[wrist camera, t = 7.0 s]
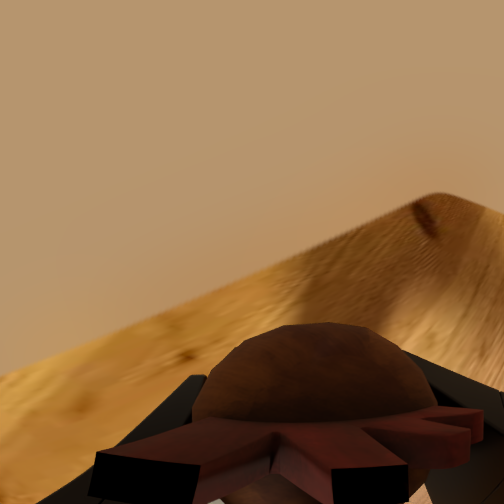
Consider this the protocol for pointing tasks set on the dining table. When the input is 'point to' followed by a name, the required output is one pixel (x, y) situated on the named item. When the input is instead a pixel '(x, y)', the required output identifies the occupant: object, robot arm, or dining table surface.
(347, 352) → the wooden figurine
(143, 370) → the dining table surface
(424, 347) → the dining table surface
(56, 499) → the robot arm
